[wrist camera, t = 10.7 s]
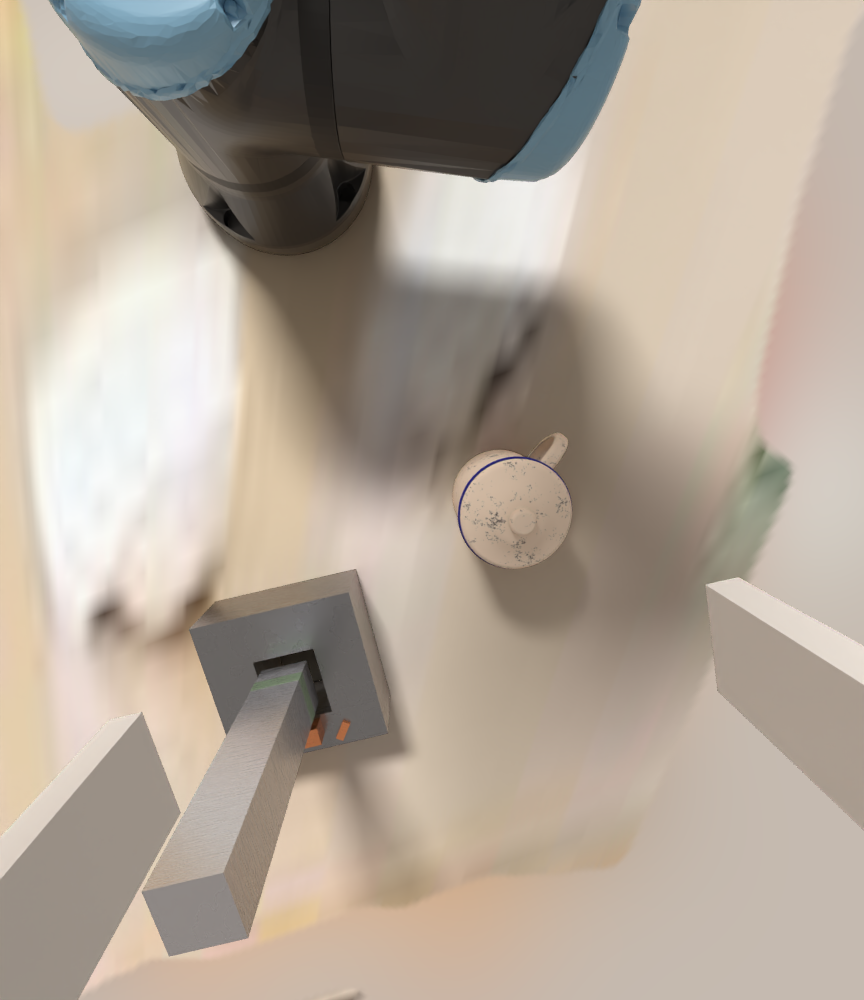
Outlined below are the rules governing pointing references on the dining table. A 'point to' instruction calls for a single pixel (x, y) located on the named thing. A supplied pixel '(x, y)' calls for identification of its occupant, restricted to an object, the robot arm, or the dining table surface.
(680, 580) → the dining table surface
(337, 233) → the robot arm
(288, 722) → the column
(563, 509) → the teacup with lid
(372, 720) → the sleeve base
